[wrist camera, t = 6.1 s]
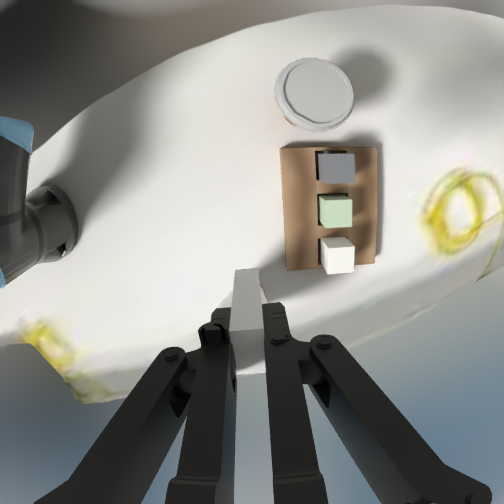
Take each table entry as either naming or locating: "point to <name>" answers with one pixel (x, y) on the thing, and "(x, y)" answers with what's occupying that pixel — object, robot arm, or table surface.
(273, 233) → the table surface
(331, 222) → the pale green block
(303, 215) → the button board
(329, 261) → the white block
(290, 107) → the disposable coffee cup
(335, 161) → the gray button
